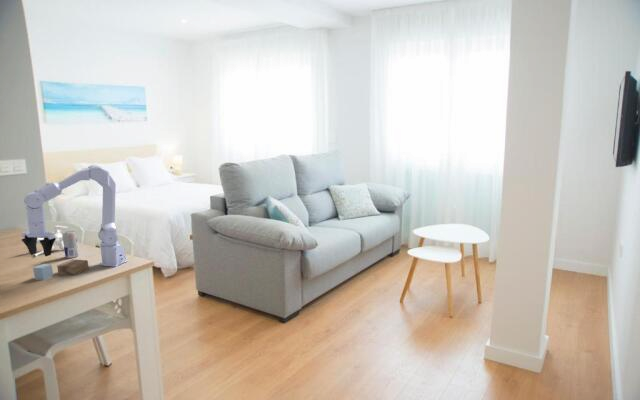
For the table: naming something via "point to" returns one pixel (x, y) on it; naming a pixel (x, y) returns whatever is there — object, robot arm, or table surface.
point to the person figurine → (57, 241)
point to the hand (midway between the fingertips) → (40, 254)
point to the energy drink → (70, 244)
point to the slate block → (43, 271)
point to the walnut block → (72, 267)
